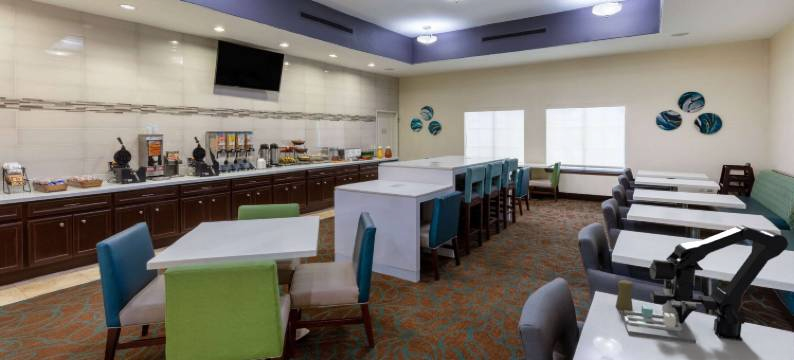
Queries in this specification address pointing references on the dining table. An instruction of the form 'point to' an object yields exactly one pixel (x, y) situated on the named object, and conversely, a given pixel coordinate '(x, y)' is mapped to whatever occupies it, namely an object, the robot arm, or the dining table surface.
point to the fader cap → (669, 320)
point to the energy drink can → (667, 307)
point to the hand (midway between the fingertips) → (680, 322)
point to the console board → (655, 326)
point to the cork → (624, 295)
